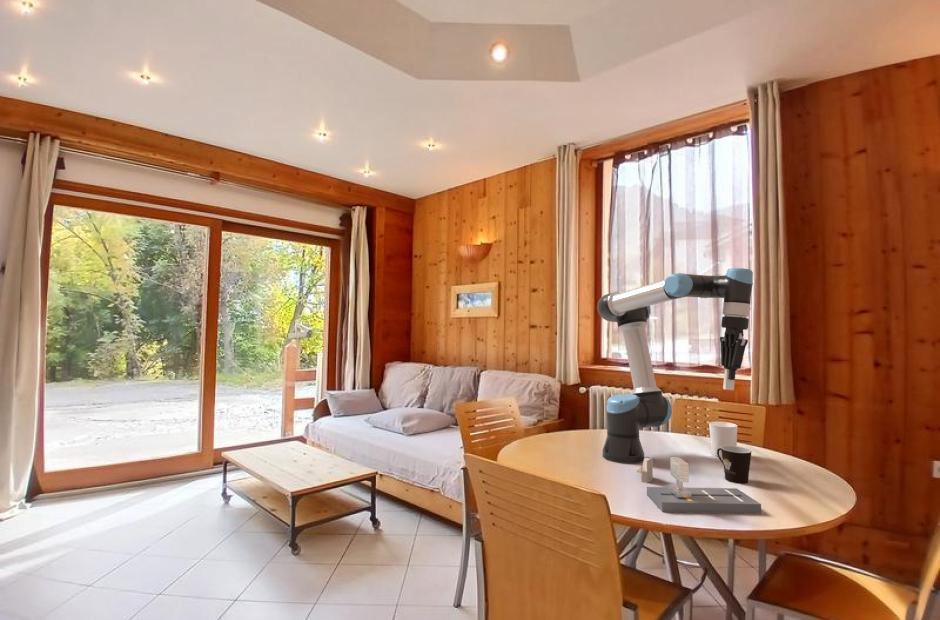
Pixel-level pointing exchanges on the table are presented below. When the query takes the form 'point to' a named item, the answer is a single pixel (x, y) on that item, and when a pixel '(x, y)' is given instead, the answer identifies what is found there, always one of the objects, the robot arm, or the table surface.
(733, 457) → the coffee mug
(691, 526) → the table surface
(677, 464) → the fader
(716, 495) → the console
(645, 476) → the architectural model
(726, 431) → the candle holder
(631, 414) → the robot arm
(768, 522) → the table surface
